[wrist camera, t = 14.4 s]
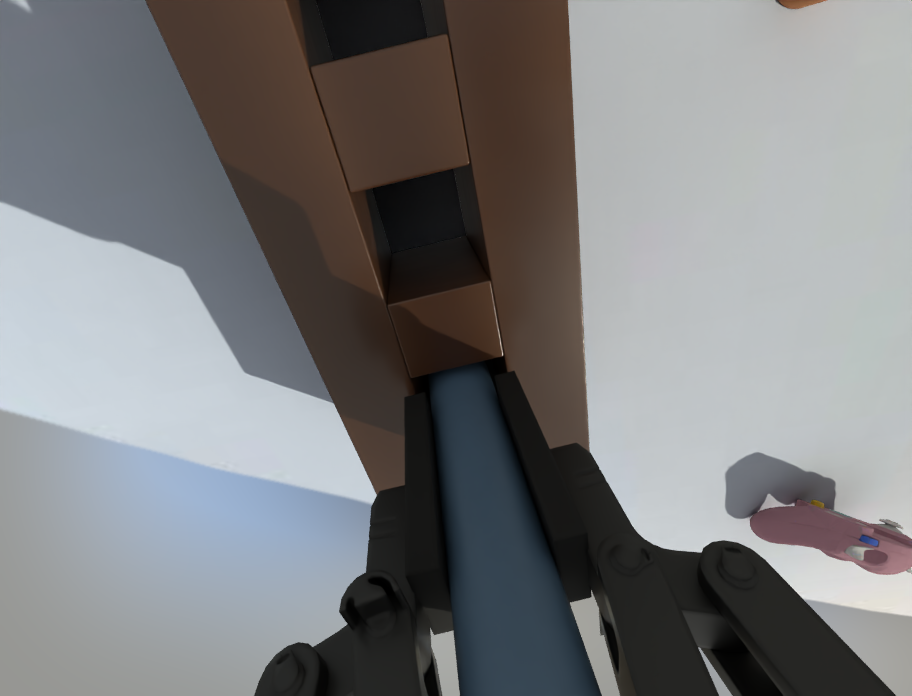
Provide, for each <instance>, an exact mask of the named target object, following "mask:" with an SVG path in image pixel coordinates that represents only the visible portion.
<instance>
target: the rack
mask: <svg viewBox="0 0 912 696" xmlns="http://www.w3.org/2000/svg"><path fill="white" fill-rule="evenodd" d="M145 1H146V3H147V6H148V8H149V10H150V12H151V14H152V16H153V18H154V21H155V23H156V25H157V27H158V29H159V31H160V33H161V35H162V38H163V40H164V42H165V44H166V46H167V48H168V50H169V53H170V55H171V57H172V59H173V61H174V63H175V65H176V67H177V70H178V72H179V74H180V76H181V78H182V80H183V82H184V85H185V87H186V89H187V91H188V93H189V95H190V97H191V99H192V102H193V104H194V106H195V108H196V110H197V112H198V114H199V117H200V119H201V121H202V123H203V125H204V127H205V129H206V131H207V134H208V136H209V138H210V140H211V142H212V144H213V146H214V148H215V151H216V153H217V155H218V157H219V159H220V161H221V163H222V166H223V168H224V170H225V172H226V174H227V176H228V178H229V180H230V183H231V185H232V187H233V189H234V191H235V193H236V195H237V198H238V200H239V202H240V204H241V206H242V208H243V210H244V212H245V215H246V217H247V219H248V221H249V223H250V225H251V227H252V230H253V232H254V234H255V236H256V238H257V240H258V242H259V244H260V247H261V249H262V251H263V253H264V255H265V257H266V259H267V262H268V264H269V266H270V268H271V270H272V272H273V274H274V276H275V279H276V281H277V283H278V285H279V287H280V289H281V291H282V294H283V296H284V298H285V300H286V302H287V304H288V306H289V308H290V311H291V313H292V315H293V317H294V319H295V321H296V323H297V326H298V328H299V330H300V332H301V334H302V336H303V338H304V340H305V343H306V345H307V347H308V349H309V351H310V353H311V355H312V358H313V360H314V362H315V364H316V366H317V368H318V370H319V372H320V375H321V377H322V379H323V381H324V383H325V385H326V387H327V390H328V392H329V394H330V396H331V398H332V400H333V402H334V404H335V407H336V409H337V411H338V413H339V415H340V417H341V419H342V421H343V424H344V426H345V428H346V430H347V432H348V434H349V436H350V439H351V441H352V443H353V445H354V447H355V449H356V451H357V453H358V456H359V458H360V460H361V462H362V464H363V466H364V468H365V471H366V473H367V475H368V477H369V479H370V481H371V483H372V485H373V488H374V490H375V492H376V494H377V495H378V493H379V491H381V490H386V489H390V488H394V487H398V486H402V485H405V427H404V397H407V396H411V395H415V394H419V393H423V392H425V395H426V398H427V401H428V405H429V408H430V411H431V401H430V391H429V381H428V376H429V374H431V373H435V372H439V371H443V370H447V369H452V368H456V367H460V366H464V365H468V364H472V363H477V362H481V361H484V362H485V363H486V365H487V367H488V370H489V373H490V376H491V379H492V382H493V385H494V387H495V390H496V393H497V387H496V382H495V377H494V375H498V374H502V373H506V372H510V371H515V373H516V375H517V377H518V379H519V382H520V384H521V386H522V388H523V390H524V393H525V395H526V397H527V399H528V402H529V404H530V406H531V408H532V410H533V413H534V415H535V417H536V419H537V422H538V424H539V426H540V428H541V430H542V433H543V435H544V437H545V439H546V441H547V444H548V446H549V448H550V449H552V448H556V447H560V446H564V445H568V444H573V443H578V444H580V445H581V446H582V447H584V448H585V449H586V450H587V451H589V430H588V410H587V389H586V368H585V347H584V327H583V306H582V285H581V264H580V244H579V223H578V202H577V181H576V161H575V140H574V119H573V98H572V78H571V57H570V36H569V15H568V0H420V1H421V6H422V11H423V16H424V21H425V26H426V31H427V38H423V39H419V40H415V41H411V42H406V43H402V44H398V45H394V46H390V47H386V48H382V49H378V50H374V51H370V52H366V53H362V54H357V55H353V56H349V57H345V58H341V59H337V60H333V56H332V53H331V50H330V46H329V43H328V40H327V36H326V33H325V30H324V26H323V23H322V19H321V16H320V13H319V9H318V6H317V3H316V0H145ZM449 169H453V170H454V175H455V180H456V185H457V191H458V196H459V201H460V206H461V211H462V216H463V221H464V227H465V232H466V236H462V237H458V238H454V239H450V240H445V241H441V242H437V243H433V244H429V245H425V246H421V247H417V248H412V249H408V250H404V251H400V252H396V253H393V254H391V250H390V247H389V244H388V240H387V237H386V234H385V230H384V227H383V224H382V220H381V217H380V213H379V210H378V207H377V203H376V200H375V197H374V193H373V190H372V188H375V187H379V186H383V185H388V184H392V183H396V182H400V181H404V180H408V179H412V178H416V177H420V176H425V175H429V174H433V173H437V172H441V171H445V170H449ZM497 396H498V393H497ZM498 399H499V398H498ZM431 414H432V411H431ZM589 452H590V451H589Z"/></svg>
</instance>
